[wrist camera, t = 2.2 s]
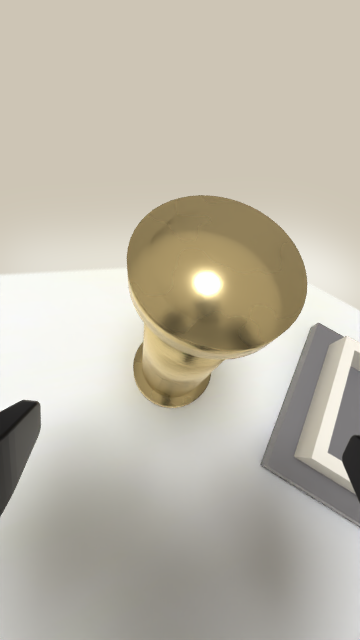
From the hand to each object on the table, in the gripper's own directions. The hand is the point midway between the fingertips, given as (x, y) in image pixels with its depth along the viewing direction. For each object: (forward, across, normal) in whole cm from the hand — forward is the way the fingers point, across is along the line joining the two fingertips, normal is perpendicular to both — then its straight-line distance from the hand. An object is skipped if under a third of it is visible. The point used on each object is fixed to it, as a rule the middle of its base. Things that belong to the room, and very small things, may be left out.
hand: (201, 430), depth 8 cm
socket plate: (+9, -15, +7) cm, 19 cm away
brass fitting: (+11, 0, +5) cm, 12 cm away
